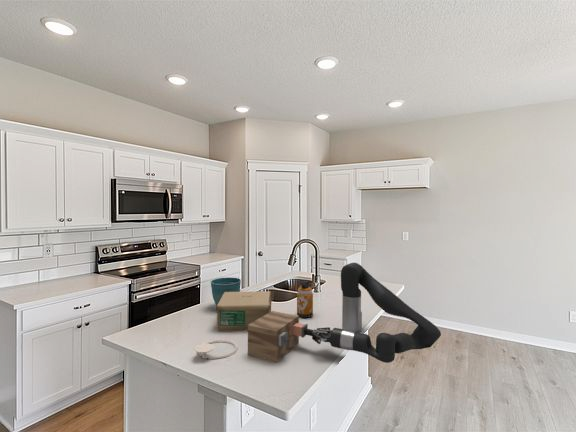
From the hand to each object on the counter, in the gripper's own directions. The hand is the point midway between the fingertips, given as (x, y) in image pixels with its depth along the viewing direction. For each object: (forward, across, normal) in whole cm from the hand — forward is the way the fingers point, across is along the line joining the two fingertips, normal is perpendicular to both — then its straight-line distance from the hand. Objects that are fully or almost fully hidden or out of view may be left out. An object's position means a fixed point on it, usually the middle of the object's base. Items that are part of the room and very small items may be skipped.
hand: (305, 331), depth 137 cm
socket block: (+11, -6, -8) cm, 15 cm away
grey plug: (+11, -12, -2) cm, 16 cm away
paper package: (+41, +14, -8) cm, 44 cm away
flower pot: (+65, +27, -8) cm, 71 cm away
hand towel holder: (+34, -20, -8) cm, 40 cm away
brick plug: (+8, 0, -2) cm, 8 cm away
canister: (+17, +39, -8) cm, 43 cm away
